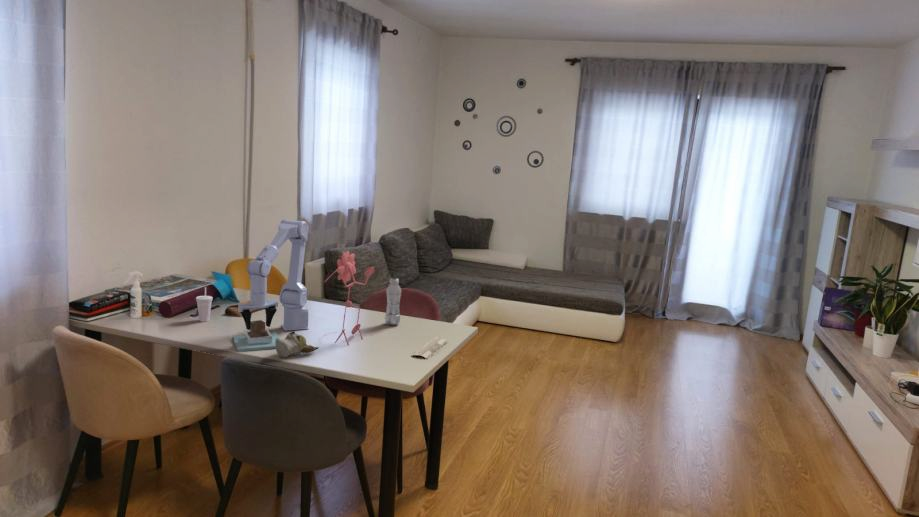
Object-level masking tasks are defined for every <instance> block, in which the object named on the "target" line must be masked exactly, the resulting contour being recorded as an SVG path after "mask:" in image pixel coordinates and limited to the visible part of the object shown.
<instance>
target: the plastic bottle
mask: <svg viewBox="0 0 919 517" xmlns="http://www.w3.org/2000/svg"><path fill="white" fill-rule="evenodd" d="M389 278H390V277H389ZM399 280H400V279H399V278H398V277H391V278H390V279H389V283H390V284H389V285H388V287H387V288H386V313H385V315H384V322H385V324H386V325H389V326H396V325H398V324H400V320H401V314H400V303H401V298H402V297H401V296H402V288H401V286H400V285H399V284H400V281H399Z"/></svg>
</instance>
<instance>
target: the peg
mask: <svg viewBox="0 0 919 517" xmlns="http://www.w3.org/2000/svg"><path fill="white" fill-rule="evenodd" d="M250 323H251V328H250V330H249V331H250V337H263V336H265V330H266V321H264V320H262V319H258V320H251V322H250Z"/></svg>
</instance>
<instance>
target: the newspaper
mask: <svg viewBox="0 0 919 517" xmlns="http://www.w3.org/2000/svg"><path fill="white" fill-rule="evenodd" d="M444 342H445V343H446V342H447V340H446V339H445V338H443V337H439V336H437V337H436V336H435V337H432V338H431V339H430V340H428V341H427V342H426V343H424V344H423V345H422V346H421V347H419V348H418V349H417V350H416V351H415V352H414V353H412V354H411V355H410V356H411V357H412V355H413V357H414V356H421V357H423V358H425V359H426V360H427V359H428V358H430V357H431V356H432V353H433V354H434V353H435V352H436V351H437V350H438V349H440V348H441V345H442V344H443V343H444ZM445 343H444V344H445ZM444 344H443V345H444ZM443 345H442V346H443Z"/></svg>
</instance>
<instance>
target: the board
mask: <svg viewBox="0 0 919 517" xmlns="http://www.w3.org/2000/svg"><path fill="white" fill-rule="evenodd" d="M270 334H271V335H272V343H266V344H253V345H247V342H246V340H245V338H244V334H238V335H237V334H236V335H232V339H233V342H234V344H235V347H236V349H237V352H238V353H240V352H251V351H262V350H265V351H266V350H274V349H275V350H276V339H277V338H278V339H281V337H280V336H279V334H278V333H277V332H270Z"/></svg>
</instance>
